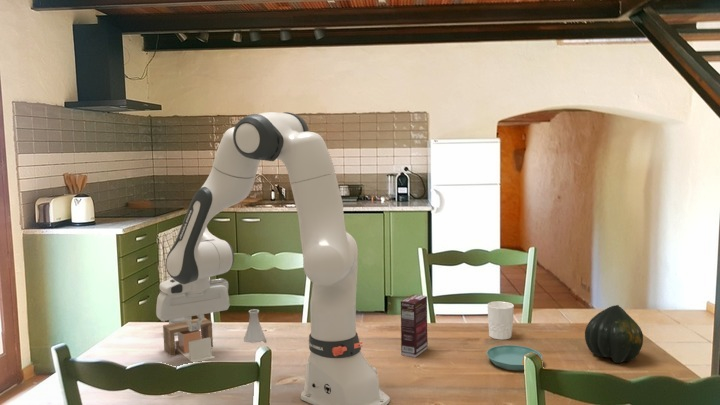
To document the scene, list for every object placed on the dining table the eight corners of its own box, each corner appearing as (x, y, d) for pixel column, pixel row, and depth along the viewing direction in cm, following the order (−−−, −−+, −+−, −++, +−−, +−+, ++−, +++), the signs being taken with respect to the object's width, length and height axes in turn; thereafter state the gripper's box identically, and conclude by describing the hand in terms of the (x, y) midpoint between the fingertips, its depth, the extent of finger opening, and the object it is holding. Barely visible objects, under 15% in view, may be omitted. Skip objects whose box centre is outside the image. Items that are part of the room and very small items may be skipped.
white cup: (482, 334, 189) (482, 303, 188) (502, 330, 192) (502, 300, 191) (497, 342, 182) (498, 309, 181) (518, 338, 185) (519, 306, 184)
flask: (269, 338, 188) (268, 307, 187) (263, 346, 180) (262, 314, 179) (246, 338, 188) (245, 307, 187) (239, 346, 181) (238, 313, 180)
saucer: (476, 358, 170) (476, 349, 169) (520, 351, 175) (520, 342, 175) (506, 377, 156) (506, 367, 156) (553, 369, 161) (553, 359, 161)
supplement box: (413, 346, 180) (413, 293, 178) (428, 348, 177) (428, 295, 175) (400, 355, 172) (399, 300, 170) (415, 358, 170) (415, 303, 168)
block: (201, 349, 175) (200, 331, 175) (184, 353, 173) (183, 334, 172) (195, 345, 179) (194, 327, 179) (178, 348, 177) (177, 330, 176)
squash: (600, 350, 158) (632, 305, 160) (566, 335, 173) (596, 293, 175) (634, 381, 162) (665, 336, 164) (598, 363, 176) (627, 322, 178)
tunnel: (213, 350, 178) (211, 322, 177) (171, 359, 171) (169, 330, 170) (205, 344, 183) (204, 317, 182) (164, 353, 176) (163, 325, 175)
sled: (215, 360, 169) (214, 340, 168) (193, 365, 165) (192, 345, 165) (195, 345, 181) (194, 327, 181) (174, 350, 177) (173, 331, 177)
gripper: (223, 275, 177) (224, 320, 179) (153, 284, 165) (155, 333, 167) (232, 279, 172) (233, 326, 174) (161, 289, 160) (162, 340, 162)
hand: (194, 330), depth 170 cm, fingers closed
